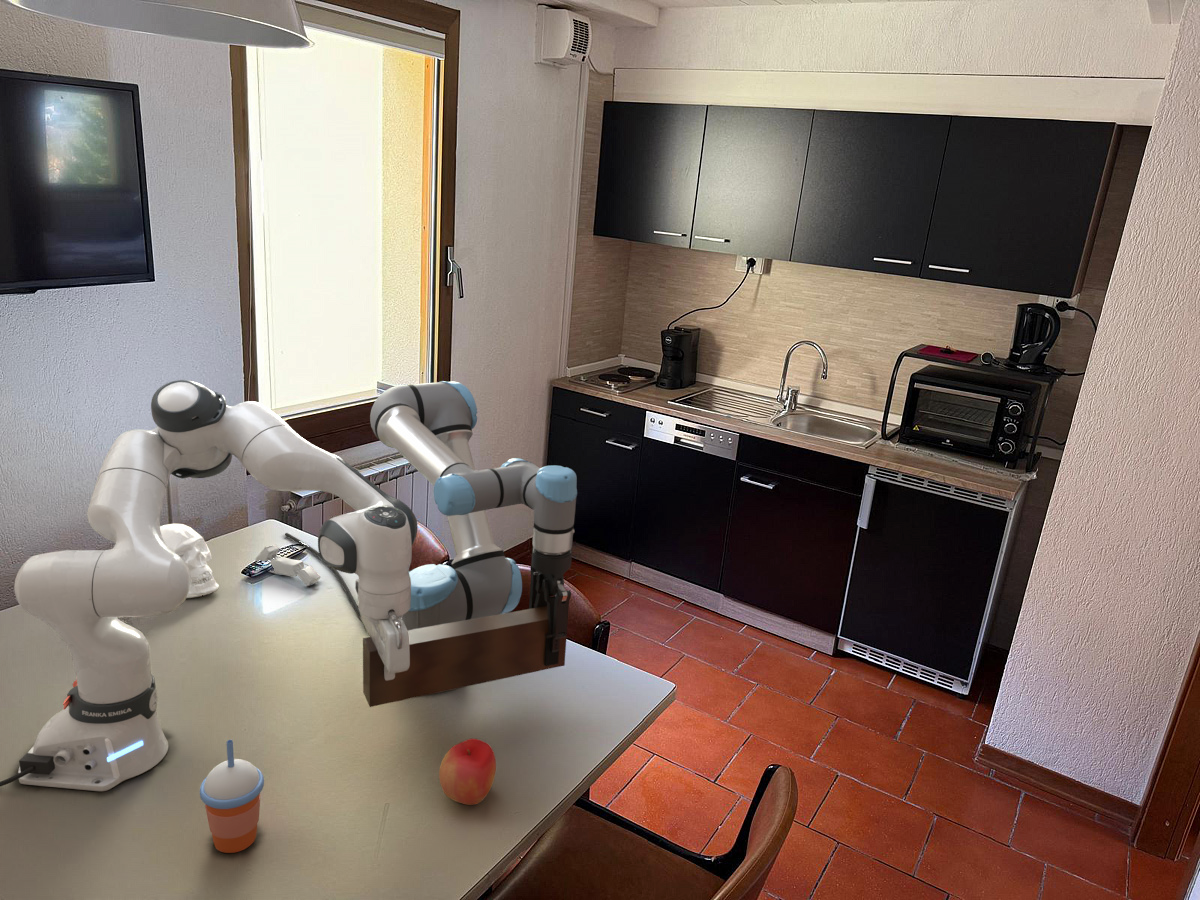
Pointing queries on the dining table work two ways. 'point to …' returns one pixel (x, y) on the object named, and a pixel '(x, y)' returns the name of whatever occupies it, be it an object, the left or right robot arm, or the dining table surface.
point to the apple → (468, 771)
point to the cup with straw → (232, 802)
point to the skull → (191, 556)
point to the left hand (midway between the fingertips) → (384, 668)
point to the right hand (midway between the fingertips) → (545, 656)
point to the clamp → (288, 566)
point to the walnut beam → (462, 655)
